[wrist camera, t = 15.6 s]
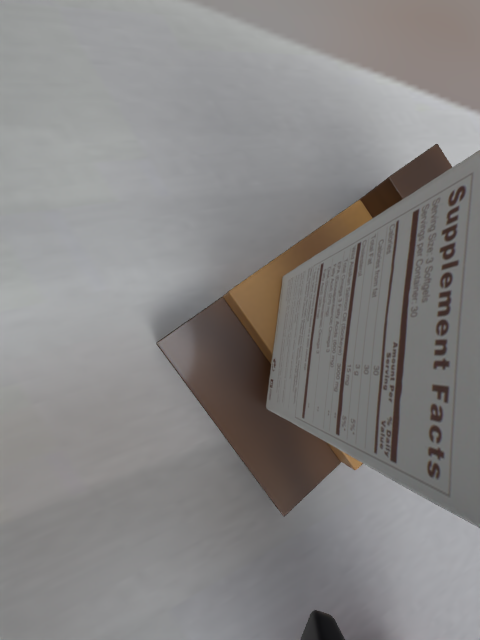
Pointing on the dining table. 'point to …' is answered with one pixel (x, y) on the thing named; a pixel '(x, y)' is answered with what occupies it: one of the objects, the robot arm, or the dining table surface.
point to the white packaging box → (393, 343)
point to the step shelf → (257, 349)
